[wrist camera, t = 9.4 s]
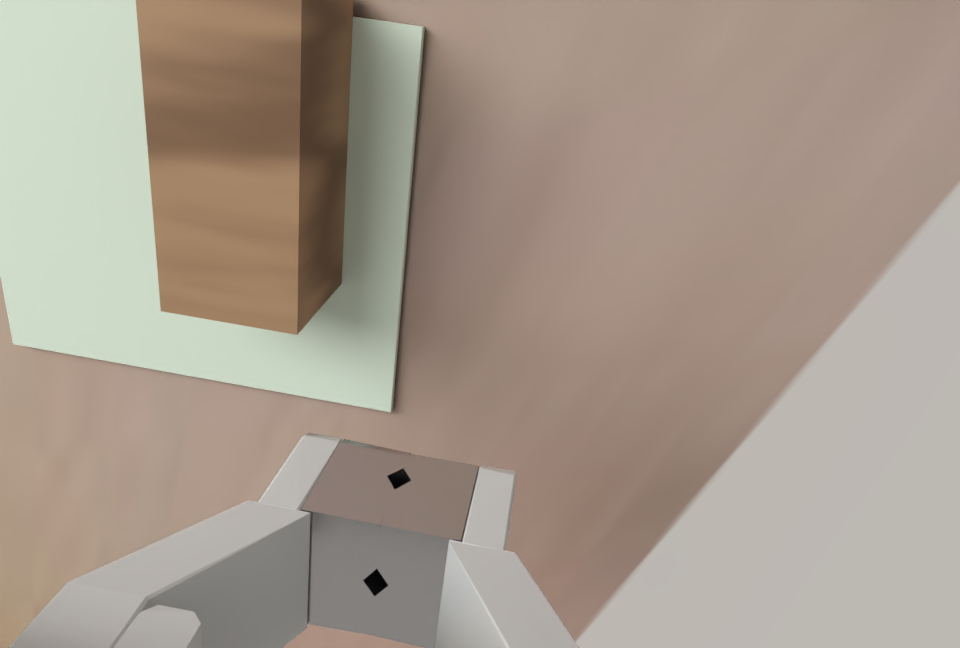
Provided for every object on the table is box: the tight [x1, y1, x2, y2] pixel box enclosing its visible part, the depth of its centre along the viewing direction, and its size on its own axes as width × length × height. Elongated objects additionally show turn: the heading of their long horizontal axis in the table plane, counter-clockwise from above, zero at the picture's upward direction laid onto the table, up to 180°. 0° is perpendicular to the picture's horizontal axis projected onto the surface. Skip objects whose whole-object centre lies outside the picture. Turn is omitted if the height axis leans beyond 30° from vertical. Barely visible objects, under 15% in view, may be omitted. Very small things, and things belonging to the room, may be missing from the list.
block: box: [136, 0, 354, 335], centre depth 24 cm, size 5×5×11 cm
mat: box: [0, 0, 425, 412], centre depth 28 cm, size 16×18×1 cm
